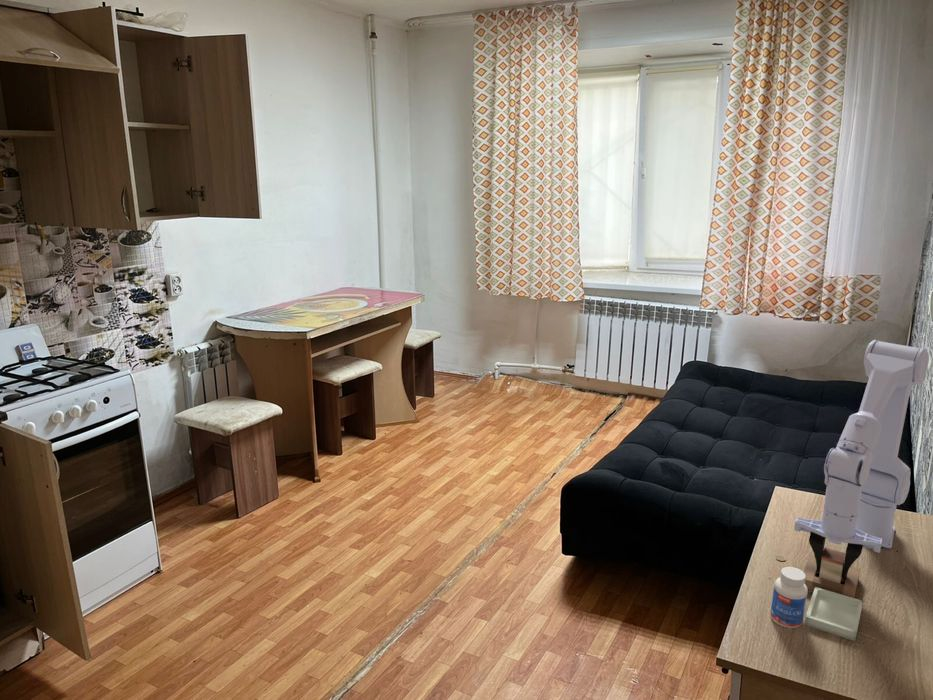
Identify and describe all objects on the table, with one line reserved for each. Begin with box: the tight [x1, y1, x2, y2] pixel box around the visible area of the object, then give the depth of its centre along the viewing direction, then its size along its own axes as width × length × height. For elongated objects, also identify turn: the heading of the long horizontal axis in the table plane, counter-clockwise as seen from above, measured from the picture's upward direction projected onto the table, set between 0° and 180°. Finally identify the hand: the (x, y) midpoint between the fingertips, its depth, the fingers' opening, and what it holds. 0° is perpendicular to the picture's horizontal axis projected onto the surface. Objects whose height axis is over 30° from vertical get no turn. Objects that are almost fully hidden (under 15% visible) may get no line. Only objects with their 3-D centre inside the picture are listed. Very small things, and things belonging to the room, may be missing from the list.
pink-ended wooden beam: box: [818, 547, 846, 584], centre depth 135 cm, size 4×4×6 cm
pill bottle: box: [770, 566, 809, 629], centre depth 126 cm, size 6×5×10 cm
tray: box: [804, 587, 864, 642], centre depth 127 cm, size 10×8×2 cm
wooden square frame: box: [803, 554, 861, 599], centre depth 136 cm, size 9×9×2 cm
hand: (831, 571), depth 136 cm, fingers closed on pink-ended wooden beam, 4 cm apart
